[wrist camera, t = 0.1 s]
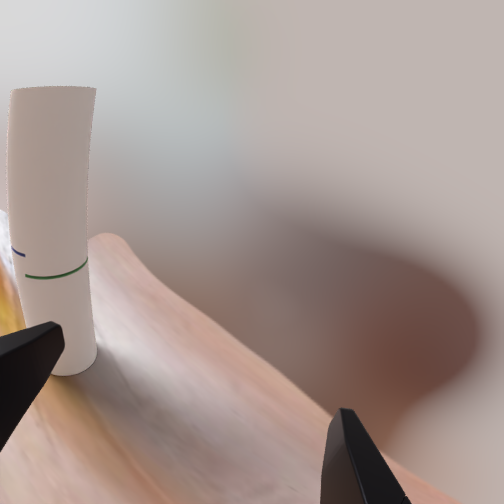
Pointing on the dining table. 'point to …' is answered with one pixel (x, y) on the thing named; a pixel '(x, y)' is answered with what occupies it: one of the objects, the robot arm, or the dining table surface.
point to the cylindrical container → (52, 213)
